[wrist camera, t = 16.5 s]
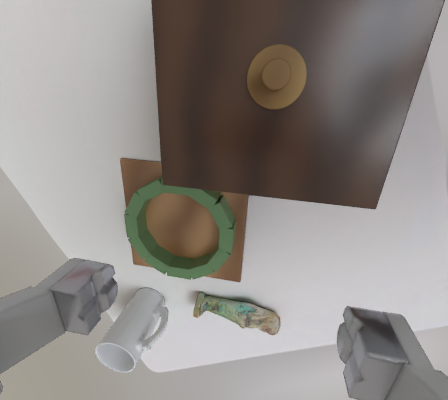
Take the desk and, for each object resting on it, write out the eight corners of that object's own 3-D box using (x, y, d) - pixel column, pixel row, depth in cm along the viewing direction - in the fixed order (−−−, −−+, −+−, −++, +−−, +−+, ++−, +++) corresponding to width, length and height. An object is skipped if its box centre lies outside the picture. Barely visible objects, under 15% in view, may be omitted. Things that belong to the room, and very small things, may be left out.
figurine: (203, 280, 44) (197, 296, 41) (284, 308, 43) (285, 327, 40) (196, 300, 46) (190, 317, 43) (273, 328, 45) (273, 347, 42)
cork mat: (250, 170, 34) (250, 171, 34) (240, 280, 42) (240, 282, 42) (121, 157, 37) (119, 158, 37) (134, 262, 46) (133, 264, 45)
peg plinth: (376, -9, 25) (575, -208, 8) (335, 164, 32) (399, 236, 16) (204, -7, 27) (103, -154, 11) (203, 152, 35) (140, 203, 18)
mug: (143, 313, 51) (107, 372, 40) (129, 288, 49) (87, 344, 38) (186, 309, 48) (160, 371, 37) (173, 282, 46) (141, 340, 35)
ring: (239, 180, 35) (236, 187, 32) (232, 273, 42) (229, 286, 39) (129, 168, 37) (118, 174, 35) (140, 258, 44) (131, 269, 42)
